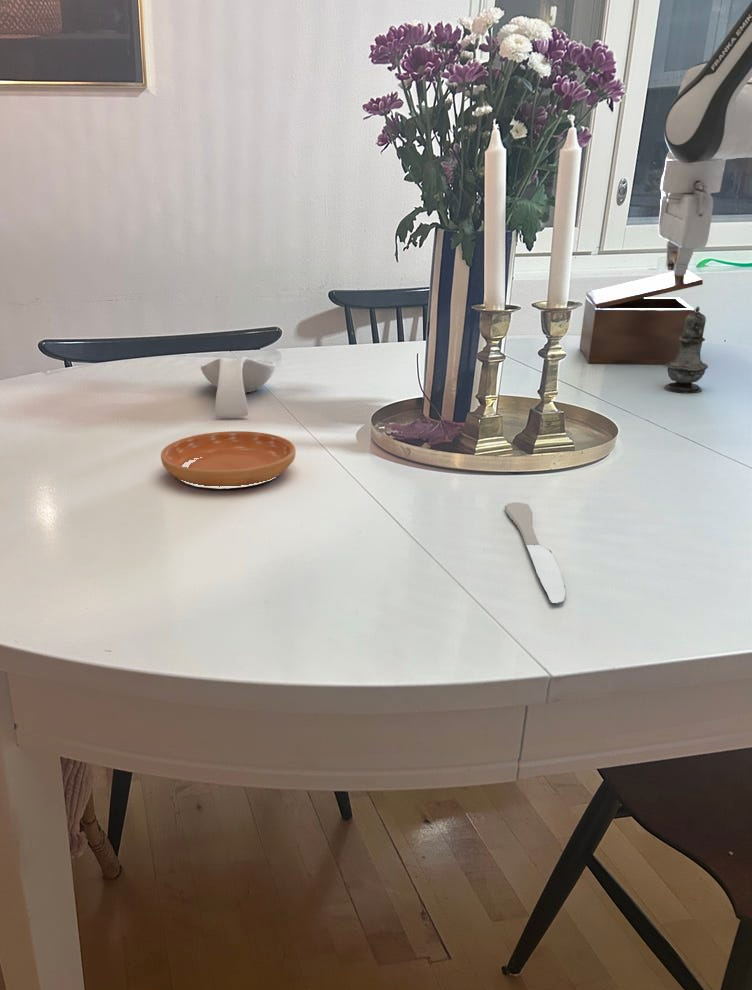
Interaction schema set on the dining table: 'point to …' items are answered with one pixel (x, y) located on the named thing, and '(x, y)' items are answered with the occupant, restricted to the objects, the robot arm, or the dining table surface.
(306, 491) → the dining table surface
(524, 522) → the utensil handle
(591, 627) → the dining table surface
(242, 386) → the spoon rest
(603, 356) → the chest
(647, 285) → the lid
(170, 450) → the saucer
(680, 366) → the salt shaker
